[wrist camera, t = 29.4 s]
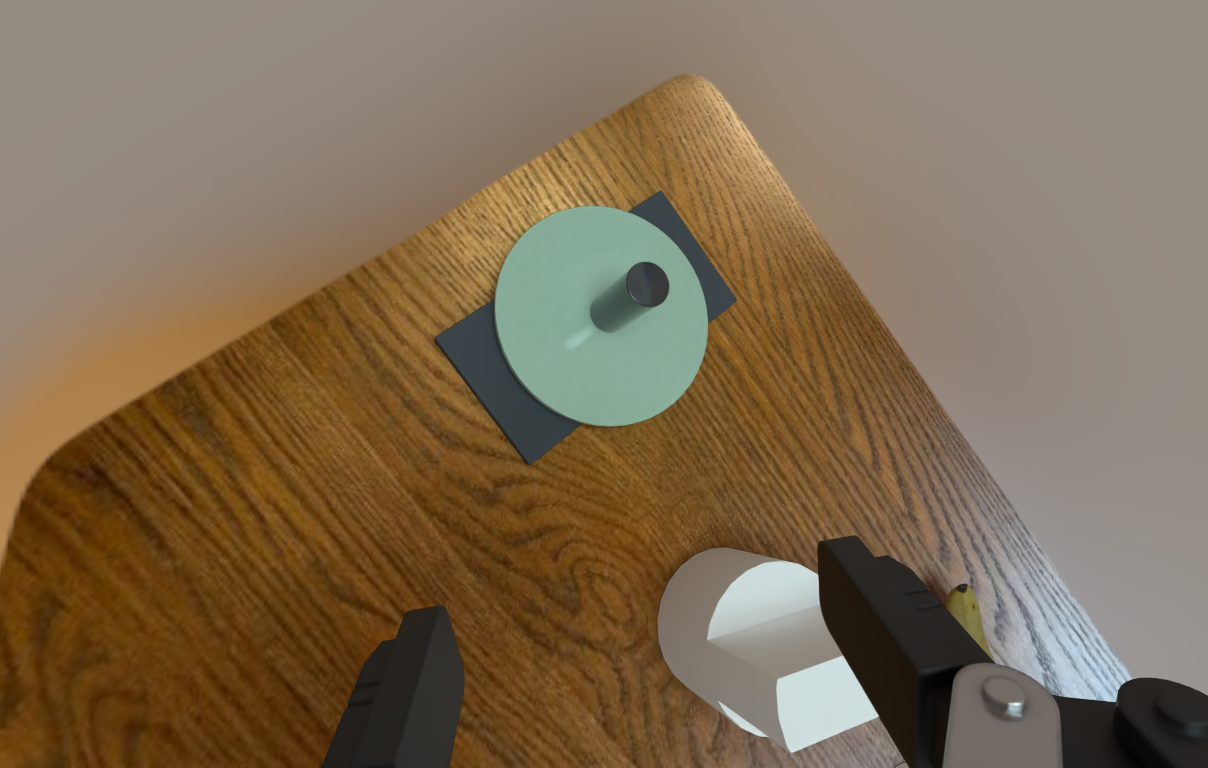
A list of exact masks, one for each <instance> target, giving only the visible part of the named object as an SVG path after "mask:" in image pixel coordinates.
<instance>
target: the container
mask: <svg viewBox="0 0 1208 768" xmlns="http://www.w3.org/2000/svg"><path fill="white" fill-rule="evenodd" d="M895 768H909V767H908V765H907V763H906V762H905V763H902V764H900V765H898V766H896V767H895Z"/></svg>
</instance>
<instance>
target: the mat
mask: <svg viewBox="0 0 1208 768" xmlns="http://www.w3.org/2000/svg"><path fill="white" fill-rule="evenodd" d="M628 212H629V213H632V214H634V215H636V216H638V217H640V218H642V219H644V220H646V221H648V222H649V223H651V224H652V225H654V226H656V227H657V228H658V229H660V230H661V231H662V232H663V233H665V234H666V235H667V236H668V237H669V238H670V239H671V240H672V241H673V242H674V243H675V244H676V245H677V246H678V247H679V249H680V250H681V251H682V252H683V254H684V255H685V256H686V258H687V259H688V261H689V262H690V264H691V266H692V267H693V269H694V271H695V273H696V275H697V277H698V280H699V282H700V285H701V288H702V291H703V294H704V298H705V302H706V307H707V316H708V323H710V322H711V321H712V320H713V319H715V318H716V317H717V316H718V315H720V314H721V313H722V312H723V311H725V310H726V309H727V308H728V307H730V306H731V305H732V304H733V303H735V302H736V301H737V299H736V298H735V296H734V295H733V294H732V292H731V291H730V289H729V288H728V286H727V285H726V283H725V282H724V280H723V279H722V278H721V276H720V275H719V273H718V272H717V270H716V269H715V267H714V266H713V265H712V263H711V262H710V260H709V259H708V257H707V256H706V254H705V253H704V251H703V250H702V249H701V247H700V246H699V244H698V243H697V241H696V240H695V238H694V237H693V235H692V234H691V233H690V231H689V230H688V228H687V227H686V225H685V224H684V222H683V221H682V219H681V218H680V217H679V215H678V214H677V212H676V211H675V209H674V208H673V206H672V205H671V204H670V202H669V201H668V199H667V198H666V196H665V195H664V193H663V192H662V191H659V192H658V193H656V194H655V195H653V196H651V197H650V198H648V199H647V200H645V201H644V202H642V203H641V204H639V205H638V206H636V207H635V208H633V209H632V210H630V211H628ZM434 341H435V343H436V344H437V345H438V347H439V348H440V349H441V351H442V352H443V353H444V355H445V356H446V357H447V359H448V360H449V361H450V363H451V364H452V365H453V367H454V368H455V369H456V371H457V372H458V373H459V375H460V376H461V377H462V379H463V380H464V381H465V383H466V384H467V385H468V387H469V388H470V389H471V391H472V392H473V393H474V395H475V396H476V397H477V399H478V400H479V401H480V403H481V404H482V405H483V407H484V408H485V409H486V411H487V412H488V413H489V415H490V416H491V417H492V419H493V420H494V421H495V423H496V424H497V425H498V426H499V428H500V429H501V430H502V432H503V433H504V434H505V436H506V437H507V438H508V440H509V441H510V442H511V444H512V445H513V446H514V448H515V449H516V450H517V452H518V453H519V454H520V456H521V457H522V458H523V460H524V461H525V462H526V464H527V465H530V464H532V463H533V462H534V461H536V460H537V459H538V458H539V457H541V456H542V455H543V454H545V453H546V452H547V451H548V450H550V449H551V448H552V447H553V446H555V445H556V444H557V443H558V442H560V441H561V440H562V439H563V438H565V437H566V436H567V435H568V434H570V433H571V432H572V431H573V430H575V429H576V428H577V427H579V426H580V425H581V424H582V423H578V422H575V421H573V420H570V419H567V418H565V417H563V416H561V415H559V414H557V413H555V412H553V411H551V410H550V409H548V408H547V407H546V406H544V405H543V404H541V403H540V402H539V401H538V400H536V399H535V398H534V397H533V396H532V395H531V394H530V393H529V392H528V391H527V390H526V389H525V388H524V387H523V385H522V384H521V383H520V382H519V381H518V379H517V378H516V376H515V375H514V373H513V372H512V370H511V369H510V367H509V365H508V363H507V361H506V359H505V357H504V355H503V353H502V350H501V347H500V344H499V341H498V338H497V333H496V328H495V323H494V299H493V300H492V301H490V302H489V303H487V304H486V305H484V306H483V307H481V308H480V309H478V310H477V311H475V312H473V313H472V314H470V315H469V316H467V317H466V318H464V319H463V320H461V321H460V322H458V323H457V324H455V325H453V326H452V327H450V328H449V329H447V330H446V331H444V332H443V333H441V334H440V335H438V336H437V337H435V340H434Z"/></svg>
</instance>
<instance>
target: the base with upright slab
mask: <svg viewBox="0 0 1208 768" xmlns="http://www.w3.org/2000/svg"><path fill="white" fill-rule="evenodd" d="M657 623H658V640H659V644H660V647H661V651H662V654H663V657H664V660H665V661H666V663H667V665H668V666H669V668H670V670H671V671H672V673H673V675H674V676H675V677H676V678H677V679H679V680H680V681H681V682H682V683H683V684H684V685H685V686H686V687H687V688H689V689H690V690H691V691H693V692H694V693H695V694H696V695H698V696H699V697H700V698H702V699H703V700H704V701H706V702H707V703H708V704H710V705H711V706H712V707H714V708H715V709H716V710H718V711H719V712H720V713H722V714H723V715H724V716H726V717H727V718H728V719H730V720H731V721H732V722H734V723H735V724H736V725H738V726H739V727H740V728H743V729H745V730H747V731H749V732H751V733H753V734H755V735H757V736H764V737H769V738H771V739H772V740H774V741H775V742H776V743H778V744H779V745H781V746H782V747H783V748H785V749H786V750H787V751H789V752H790V753H793V752H795V751H798V750H800V749H802V748H805V747H807V746H809V745H812V744H814V743H817V742H819V741H821V740H824V739H826V738H829V737H831V736H833V735H836V734H838V733H841V732H843V731H845V730H848V729H850V728H853V727H855V726H857V725H860V724H862V723H865V722H867V721H869V720H872V719H874V718H877V717H879V716H878V714H877V712H876V711H875V709H874V707H873V706H872V704H871V702H870V700H869V699H868V697H867V695H866V694H865V692H864V690H863V689H862V687H861V685H860V683H859V682H858V680H857V678H856V677H855V675H854V673H853V672H852V670H851V668H850V666H849V665H848V663H847V661H846V660H845V658H844V656H843V655H842V653H841V651H840V649H839V648H838V646H837V644H836V643H835V641H834V639H833V638H832V636H831V634H830V632H829V631H828V629H827V626H826V624H825V621H824V619H823V615H822V612H821V607H820V601H819V579H818V575H817V574H816V573H814V572H812V571H811V570H809V569H807V568H805V567H804V566H802V565H800V564H796V563H792V562H788V561H783V560H779V559H775V558H771V557H766V556H762V555H758V554H754V553H749V552H745V551H741V550H736V549H731V548H727V547H723V548H713V549H708V550H705V551H703V552H701V553H698V554H696V555H694V556H692V557H691V558H690V559H689V560H687V561H686V562H685V563H684V564H682V565H681V566H680V567H679V568H678V570H677V571H676V572H675V574H674V575H673V576H672V578H671V579H670V580H669V582H668V584H667V587H666V589H665V591H664V594H663V596H662V598H661V602H660V607H659V613H658V619H657Z"/></svg>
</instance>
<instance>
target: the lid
mask: <svg viewBox="0 0 1208 768" xmlns="http://www.w3.org/2000/svg"><path fill="white" fill-rule="evenodd" d="M494 323H495V328H496V333H497V338H498V341H499V344H500V347H501V350H502V353H503V355H504V357H505V359H506V361H507V363H508V365H509V367H510V369H511V370H512V372H513V373H514V375H515V376H516V378H517V379H518V381H519V382H520V383H521V384H522V385H523V387H524V388H525V389H526V390H527V391H528V392H529V393H530V394H531V395H532V396H533V397H534V398H535V399H536V400H538V401H539V402H540V403H541V404H543V405H544V406H546V407H547V408H548V409H550V410H551V411H553V412H555V413H557V414H559V415H561V416H563V417H565V418H567V419H570V420H573V421H575V422H578V423H582V424H587V425H591V426H601V427H616V426H625V425H630V424H634V423H639V422H641V421H644V420H647V419H650V418H652V417H654V416H656V415H657V414H659V413H661V412H663V411H664V410H666V409H667V408H668V407H670V406H671V405H672V404H674V403H675V402H676V401H677V400H678V399H679V398H680V397H681V396H682V395H683V394H684V392H685V391H686V390H687V388H688V387H689V386H690V385H691V383H692V381H693V379H694V378H695V376H696V374H697V372H698V370H699V368H700V365H701V363H702V360H703V357H704V353H705V349H706V343H707V336H708V316H707V307H706V302H705V298H704V294H703V291H702V288H701V285H700V282H699V280H698V277H697V275H696V273H695V271H694V269H693V267H692V266H691V264H690V262H689V261H688V259H687V258H686V256H685V255H684V254H683V252H682V251H681V250H680V249H679V247H678V246H677V245H676V244H675V243H674V242H673V241H672V240H671V239H670V238H669V237H668V236H667V235H666V234H665V233H663V232H662V231H661V230H660V229H658V228H657V227H656V226H654V225H652V224H651V223H649V222H648V221H646V220H644V219H642V218H640V217H638V216H636V215H634V214H632V213H629V212H626V211H623V210H620V209H615V208H610V207H602V206H583V207H575V208H570V209H565V210H563V211H560V212H557V213H554V214H552V215H550V216H548V217H546V218H544V219H542V220H540V221H539V222H538V223H536V224H535V225H534V226H532V227H531V228H530V229H528V230H527V231H526V232H525V233H524V234H523V235H522V236H521V237H520V238H519V240H518V241H517V242H516V244H515V245H514V246H513V248H512V249H511V251H510V252H509V254H508V256H507V258H506V260H505V262H504V264H503V266H502V268H501V271H500V274H499V277H498V280H497V284H496V289H495V295H494Z"/></svg>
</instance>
